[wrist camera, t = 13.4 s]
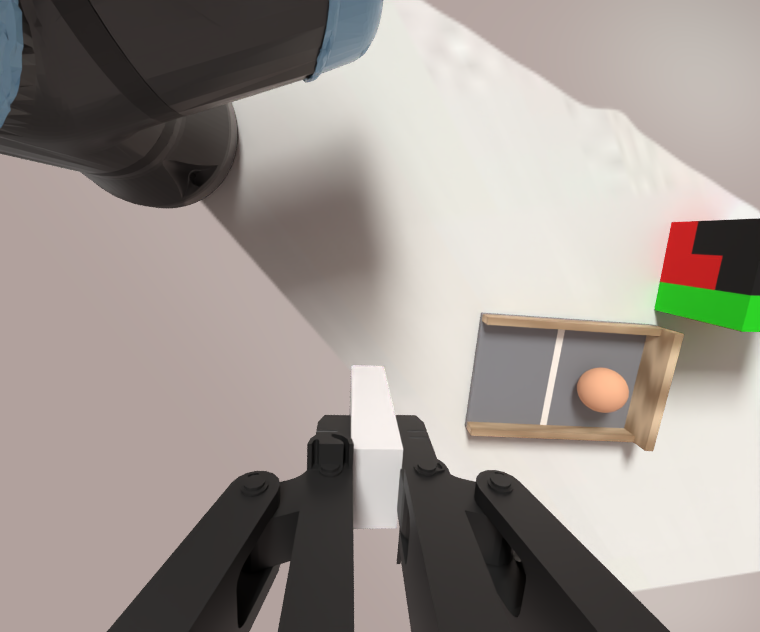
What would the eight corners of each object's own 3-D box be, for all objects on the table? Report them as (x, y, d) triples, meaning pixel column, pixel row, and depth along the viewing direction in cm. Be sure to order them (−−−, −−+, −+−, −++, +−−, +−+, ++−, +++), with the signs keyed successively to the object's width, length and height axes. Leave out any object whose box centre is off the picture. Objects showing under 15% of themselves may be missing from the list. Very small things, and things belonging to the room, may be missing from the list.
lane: (481, 312, 41) (482, 313, 41) (653, 324, 43) (657, 326, 43) (464, 425, 44) (466, 427, 44) (626, 431, 46) (630, 434, 46)
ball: (640, 371, 40) (592, 358, 44) (622, 380, 37) (572, 366, 41) (631, 413, 41) (585, 397, 45) (613, 425, 38) (565, 407, 42)
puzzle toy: (753, 225, 42) (875, 222, 32) (732, 311, 44) (840, 333, 34) (671, 222, 41) (770, 218, 31) (653, 309, 43) (741, 331, 33)
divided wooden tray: (482, 313, 41) (494, 321, 37) (657, 325, 43) (684, 333, 39) (466, 427, 44) (476, 444, 40) (630, 434, 46) (653, 451, 42)
